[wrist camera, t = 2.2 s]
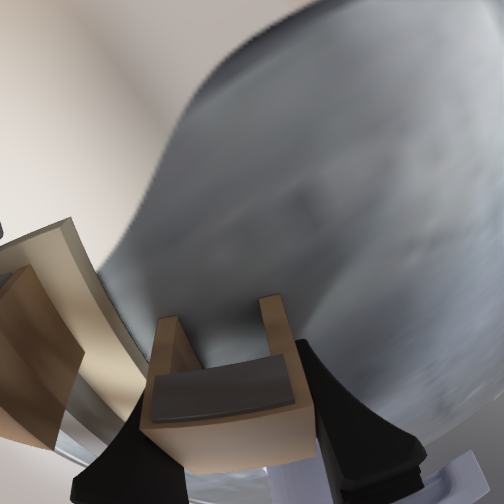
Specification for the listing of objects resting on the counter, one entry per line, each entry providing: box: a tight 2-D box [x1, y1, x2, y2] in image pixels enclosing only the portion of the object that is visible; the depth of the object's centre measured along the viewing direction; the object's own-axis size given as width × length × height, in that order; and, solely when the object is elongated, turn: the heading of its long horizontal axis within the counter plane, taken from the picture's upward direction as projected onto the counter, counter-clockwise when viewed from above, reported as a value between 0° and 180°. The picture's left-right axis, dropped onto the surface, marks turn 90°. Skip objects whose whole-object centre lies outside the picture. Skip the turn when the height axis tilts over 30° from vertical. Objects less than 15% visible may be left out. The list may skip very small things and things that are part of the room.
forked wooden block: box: [139, 294, 316, 475], centre depth 11 cm, size 5×5×6 cm
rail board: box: [0, 217, 149, 457], centre depth 11 cm, size 20×10×6 cm, turn 11°
